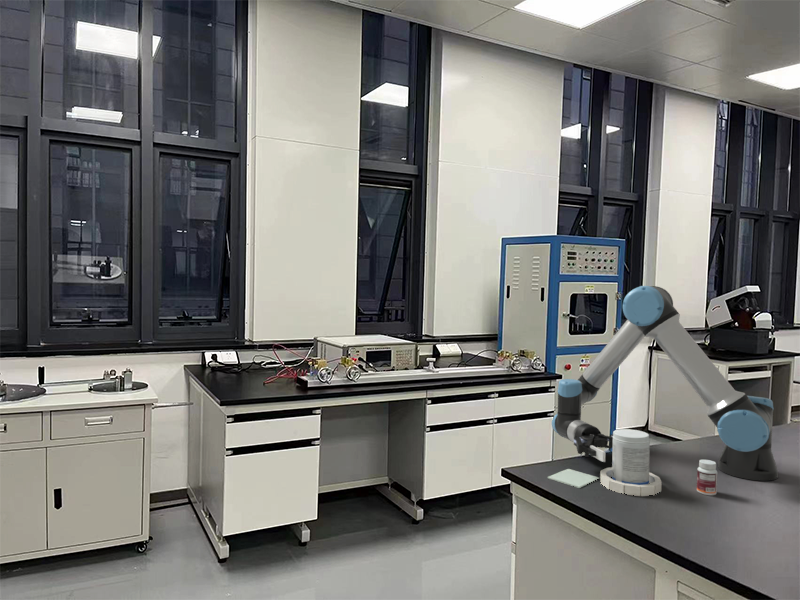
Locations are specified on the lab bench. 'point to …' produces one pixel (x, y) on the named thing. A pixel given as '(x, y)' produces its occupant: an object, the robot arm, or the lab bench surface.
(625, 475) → the supplement tub
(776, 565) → the lab bench surface
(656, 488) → the ring dish
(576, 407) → the robot arm
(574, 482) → the rubber mat
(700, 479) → the pill bottle
